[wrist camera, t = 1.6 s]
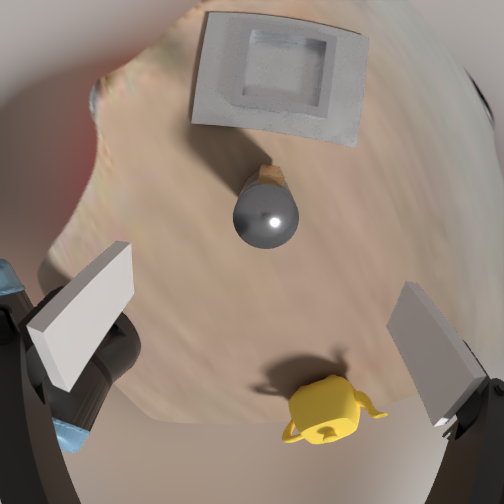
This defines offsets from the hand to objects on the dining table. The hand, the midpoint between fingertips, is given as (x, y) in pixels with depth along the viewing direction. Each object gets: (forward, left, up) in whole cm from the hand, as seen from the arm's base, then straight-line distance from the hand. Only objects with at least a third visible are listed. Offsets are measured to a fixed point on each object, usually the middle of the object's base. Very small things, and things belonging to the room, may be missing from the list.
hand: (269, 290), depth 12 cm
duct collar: (0, +14, -21) cm, 25 cm away
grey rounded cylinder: (0, 0, -21) cm, 21 cm away
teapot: (+16, -32, -21) cm, 41 cm away
